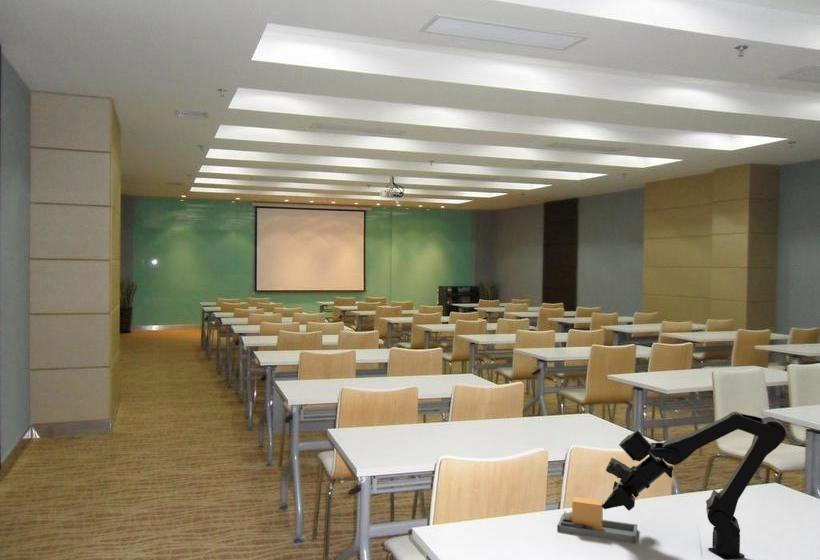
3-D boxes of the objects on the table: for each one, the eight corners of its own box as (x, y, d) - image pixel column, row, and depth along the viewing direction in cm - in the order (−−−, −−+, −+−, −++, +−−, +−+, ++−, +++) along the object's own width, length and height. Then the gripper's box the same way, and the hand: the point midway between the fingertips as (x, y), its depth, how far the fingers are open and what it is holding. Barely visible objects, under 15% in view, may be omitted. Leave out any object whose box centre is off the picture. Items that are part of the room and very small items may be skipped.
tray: (637, 533, 189) (637, 522, 189) (635, 546, 180) (635, 534, 180) (562, 522, 196) (562, 511, 196) (557, 534, 187) (557, 523, 187)
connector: (602, 528, 190) (603, 500, 190) (601, 533, 185) (601, 505, 185) (565, 522, 193) (565, 495, 193) (563, 528, 189) (563, 500, 189)
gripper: (626, 443, 194) (586, 475, 198) (622, 459, 177) (578, 494, 181) (654, 473, 191) (613, 505, 195) (652, 492, 174) (608, 527, 178)
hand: (603, 507), depth 187 cm, fingers closed, pressing on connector
